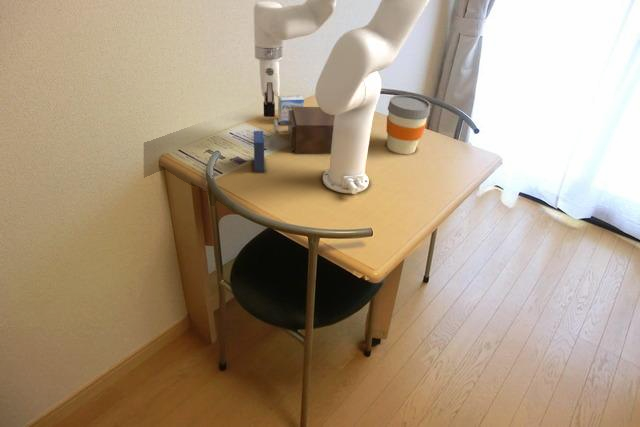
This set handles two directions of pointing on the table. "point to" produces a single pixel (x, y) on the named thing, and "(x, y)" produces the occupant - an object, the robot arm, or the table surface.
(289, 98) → the medicine box
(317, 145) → the cabinet
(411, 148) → the reusable coffee cup
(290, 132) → the drawer
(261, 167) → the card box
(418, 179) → the table surface
